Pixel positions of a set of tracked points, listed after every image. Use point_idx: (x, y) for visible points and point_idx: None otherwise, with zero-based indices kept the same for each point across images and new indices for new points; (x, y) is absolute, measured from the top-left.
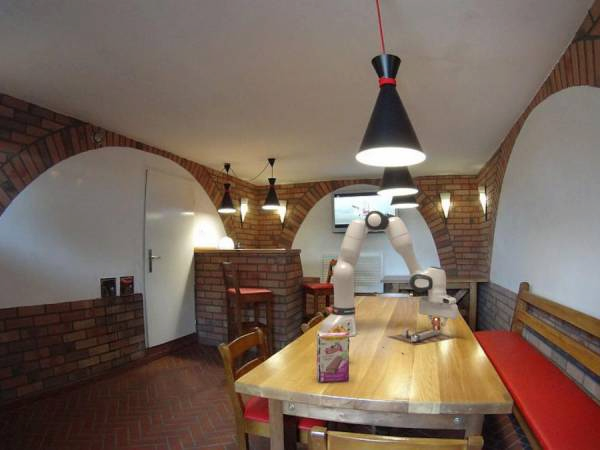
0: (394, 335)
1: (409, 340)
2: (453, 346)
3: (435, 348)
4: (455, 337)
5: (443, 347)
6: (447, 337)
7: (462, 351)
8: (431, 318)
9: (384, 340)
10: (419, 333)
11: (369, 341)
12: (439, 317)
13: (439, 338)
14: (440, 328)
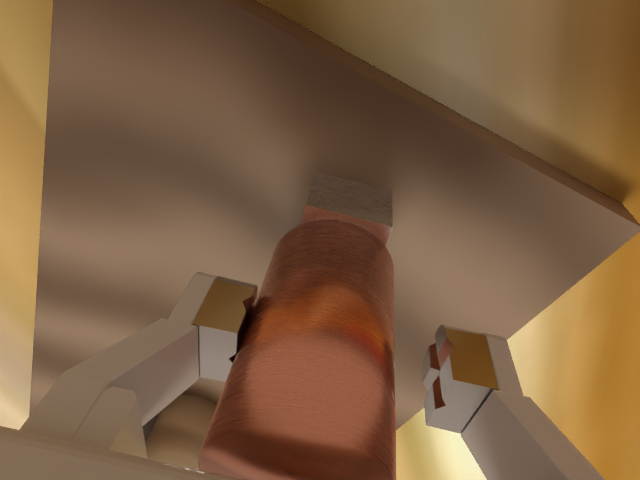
0: (31, 382)
1: None
2: (547, 399)
3: (408, 463)
4: (619, 222)
5: (461, 437)
6: (496, 267)
7: (609, 472)
8: (149, 376)
9: None
10: (126, 233)
11: None
12: (363, 459)
13: (405, 339)
14: (392, 273)
